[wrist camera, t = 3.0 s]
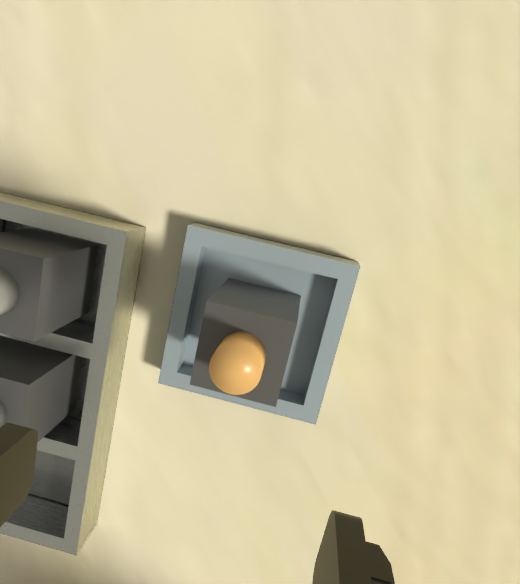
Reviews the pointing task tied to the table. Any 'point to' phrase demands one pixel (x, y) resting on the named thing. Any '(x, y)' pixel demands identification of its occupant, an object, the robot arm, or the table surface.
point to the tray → (273, 274)
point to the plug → (246, 341)
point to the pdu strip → (92, 382)
